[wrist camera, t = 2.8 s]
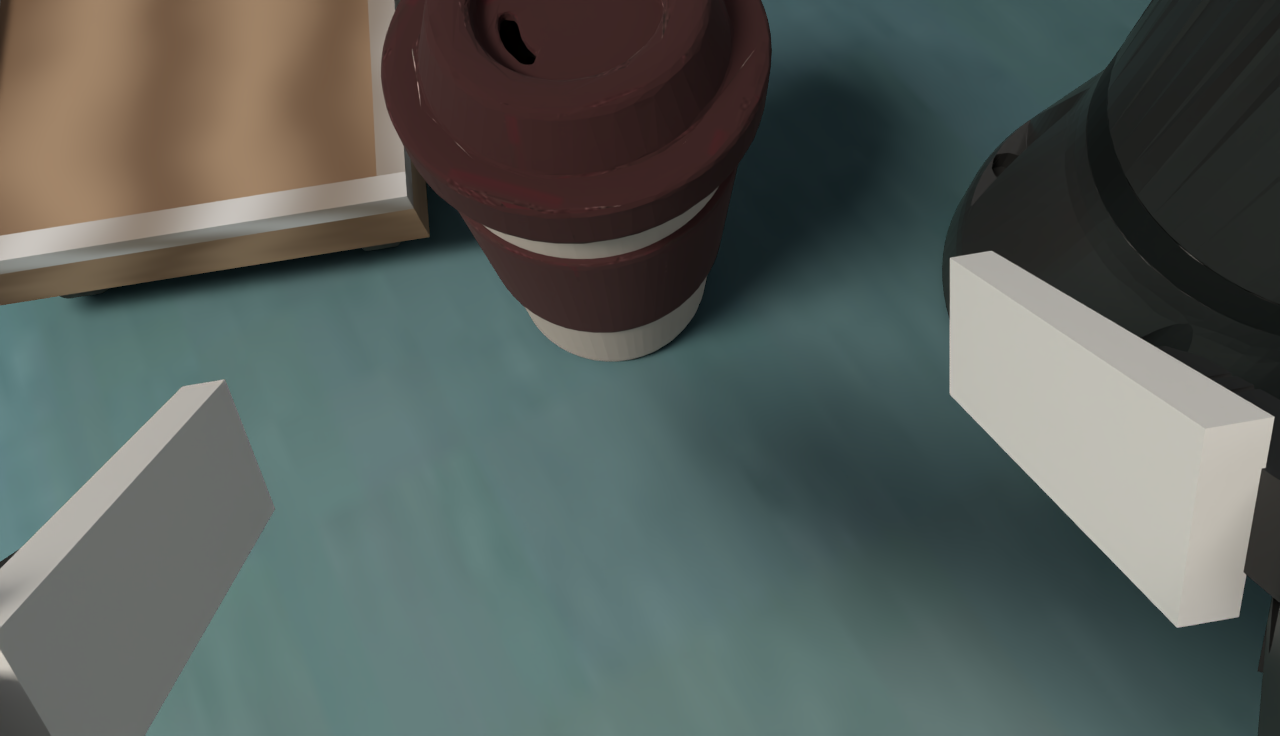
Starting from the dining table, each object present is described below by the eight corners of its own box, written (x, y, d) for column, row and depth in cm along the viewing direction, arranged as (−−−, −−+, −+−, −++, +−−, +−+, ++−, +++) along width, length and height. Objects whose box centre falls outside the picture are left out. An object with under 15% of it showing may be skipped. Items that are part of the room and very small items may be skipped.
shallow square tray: (424, -42, 40) (384, -155, 35) (450, 273, 34) (407, 196, 29) (69, 13, 40) (-27, -92, 35) (33, 340, 34) (-90, 275, 29)
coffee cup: (748, 185, 35) (792, -148, 21) (726, 412, 32) (762, 194, 18) (514, 166, 36) (407, -167, 22) (469, 384, 33) (308, 156, 18)
